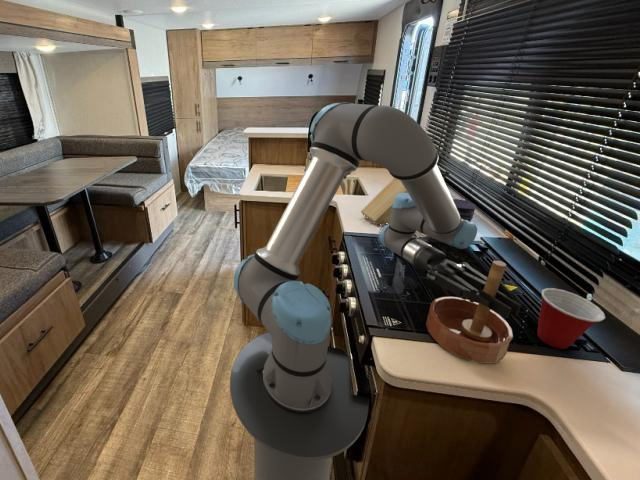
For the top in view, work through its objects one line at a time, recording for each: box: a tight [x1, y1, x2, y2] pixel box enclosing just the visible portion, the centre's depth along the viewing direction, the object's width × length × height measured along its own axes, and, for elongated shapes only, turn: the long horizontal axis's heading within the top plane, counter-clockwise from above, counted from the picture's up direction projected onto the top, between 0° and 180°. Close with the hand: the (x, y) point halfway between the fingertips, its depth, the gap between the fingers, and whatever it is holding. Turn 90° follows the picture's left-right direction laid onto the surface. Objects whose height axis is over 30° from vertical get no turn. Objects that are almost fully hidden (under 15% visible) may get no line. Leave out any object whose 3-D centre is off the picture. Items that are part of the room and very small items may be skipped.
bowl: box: [425, 296, 514, 364], centre depth 77 cm, size 17×17×6 cm
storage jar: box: [452, 198, 477, 222], centre depth 122 cm, size 10×10×15 cm
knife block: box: [360, 156, 451, 226], centre depth 137 cm, size 11×35×31 cm, turn 103°
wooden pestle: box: [461, 260, 508, 341], centre depth 73 cm, size 6×6×20 cm
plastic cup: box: [536, 287, 606, 350], centre depth 74 cm, size 11×11×12 cm
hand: (513, 311), depth 67 cm, fingers closed on wooden pestle, 2 cm apart
